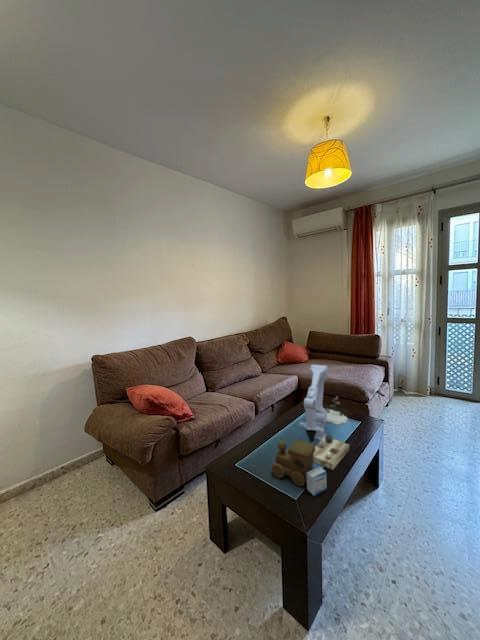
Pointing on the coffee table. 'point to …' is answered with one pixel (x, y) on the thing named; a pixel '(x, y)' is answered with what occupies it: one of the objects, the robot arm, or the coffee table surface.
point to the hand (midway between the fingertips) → (311, 441)
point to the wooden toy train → (294, 461)
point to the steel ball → (320, 443)
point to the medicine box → (316, 481)
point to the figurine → (335, 415)
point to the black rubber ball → (328, 438)
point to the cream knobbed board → (334, 448)
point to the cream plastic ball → (328, 454)
